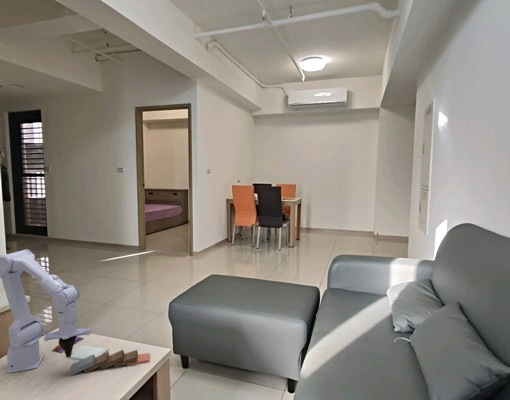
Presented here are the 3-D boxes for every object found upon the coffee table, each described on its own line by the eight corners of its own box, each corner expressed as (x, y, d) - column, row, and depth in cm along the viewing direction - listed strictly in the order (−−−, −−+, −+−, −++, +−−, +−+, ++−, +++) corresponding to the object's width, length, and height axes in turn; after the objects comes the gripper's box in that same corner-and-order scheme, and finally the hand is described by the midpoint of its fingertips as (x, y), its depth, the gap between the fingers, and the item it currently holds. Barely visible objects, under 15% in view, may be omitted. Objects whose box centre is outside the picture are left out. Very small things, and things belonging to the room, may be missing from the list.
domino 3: (99, 366, 115) (121, 356, 117) (102, 359, 119) (122, 349, 121) (101, 370, 115) (122, 360, 117) (103, 362, 120) (124, 352, 122)
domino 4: (113, 364, 116) (135, 357, 118) (116, 356, 121) (137, 349, 123) (114, 368, 116) (136, 360, 118) (117, 360, 121) (138, 353, 123)
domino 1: (68, 372, 111) (91, 361, 114) (71, 364, 116) (93, 354, 118) (70, 375, 112) (93, 365, 114) (73, 367, 116) (95, 357, 119)
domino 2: (83, 369, 113) (106, 359, 115) (86, 361, 118) (107, 351, 120) (85, 373, 113) (107, 362, 115) (88, 365, 118) (109, 355, 120)
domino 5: (127, 363, 118) (149, 359, 120) (128, 356, 122) (149, 352, 125) (127, 367, 118) (149, 363, 120) (128, 360, 123) (149, 356, 125)
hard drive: (67, 356, 122) (94, 359, 119) (82, 344, 130) (108, 348, 127) (67, 360, 122) (95, 363, 120) (82, 348, 130) (108, 351, 128)
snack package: (74, 334, 138) (83, 335, 136) (75, 338, 138) (84, 340, 137) (51, 347, 127) (61, 349, 125) (51, 352, 127) (61, 354, 126)
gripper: (40, 328, 106) (42, 365, 107) (87, 322, 111) (88, 358, 112) (47, 319, 112) (48, 354, 114) (91, 314, 117) (92, 347, 118)
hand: (68, 355), depth 113 cm, fingers closed
